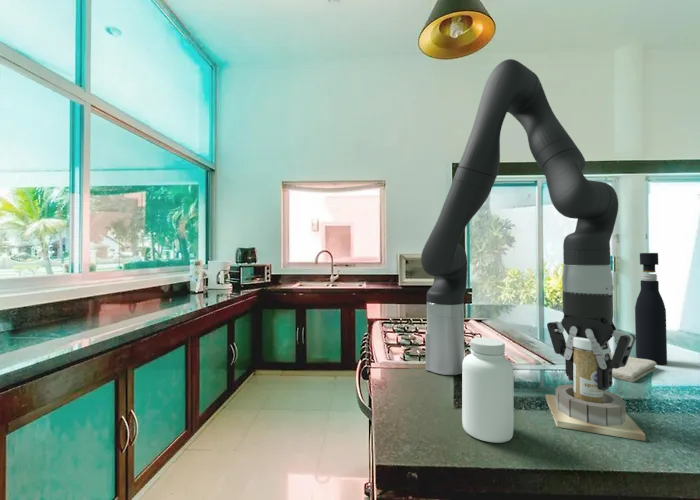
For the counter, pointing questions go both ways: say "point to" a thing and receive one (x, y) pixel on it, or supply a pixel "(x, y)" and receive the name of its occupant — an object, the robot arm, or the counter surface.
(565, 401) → the collar
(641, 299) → the black bottle
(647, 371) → the washcloth
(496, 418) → the pill bottle
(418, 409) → the counter surface
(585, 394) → the sprinkles bottle
